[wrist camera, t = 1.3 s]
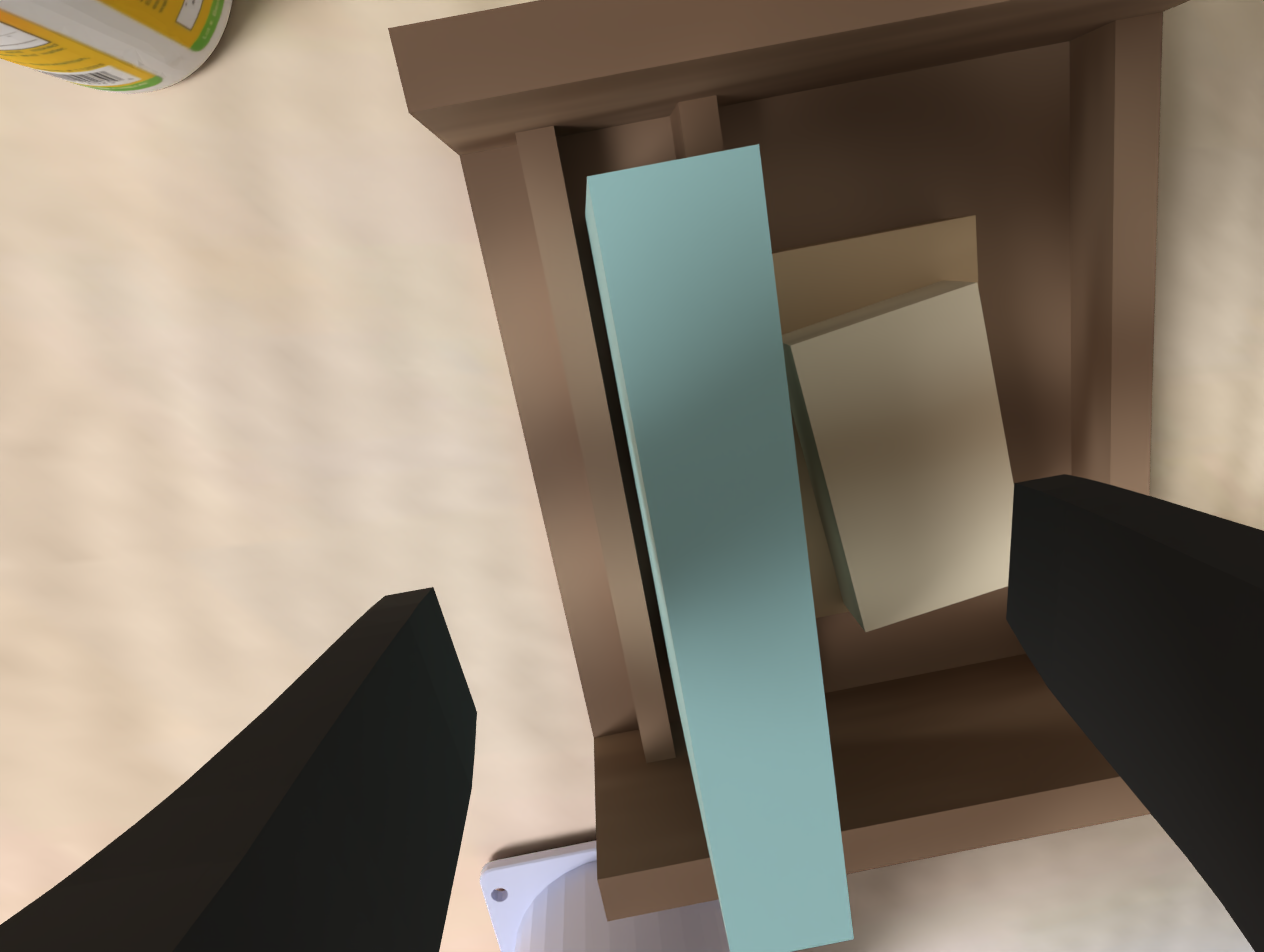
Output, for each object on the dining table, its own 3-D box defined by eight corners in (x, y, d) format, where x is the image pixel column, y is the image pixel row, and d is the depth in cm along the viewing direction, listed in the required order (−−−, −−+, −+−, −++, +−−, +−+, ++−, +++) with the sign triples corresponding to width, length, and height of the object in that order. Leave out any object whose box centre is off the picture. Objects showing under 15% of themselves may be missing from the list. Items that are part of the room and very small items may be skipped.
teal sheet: (739, 653, 20) (853, 939, 12) (669, 666, 20) (732, 963, 12) (669, 202, 17) (758, 144, 8) (585, 218, 17) (587, 176, 8)
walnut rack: (1083, 656, 22) (1255, 792, 17) (601, 750, 22) (607, 921, 17) (1083, -12, 17) (1335, -148, 11) (453, 106, 17) (387, 28, 11)
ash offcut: (995, 553, 18) (1030, 578, 17) (843, 603, 19) (865, 632, 17) (942, 280, 16) (977, 282, 15) (772, 338, 17) (790, 345, 15)
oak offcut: (961, 560, 20) (990, 584, 19) (782, 595, 20) (798, 621, 19) (943, 218, 18) (975, 214, 16) (737, 257, 17) (752, 257, 16)
